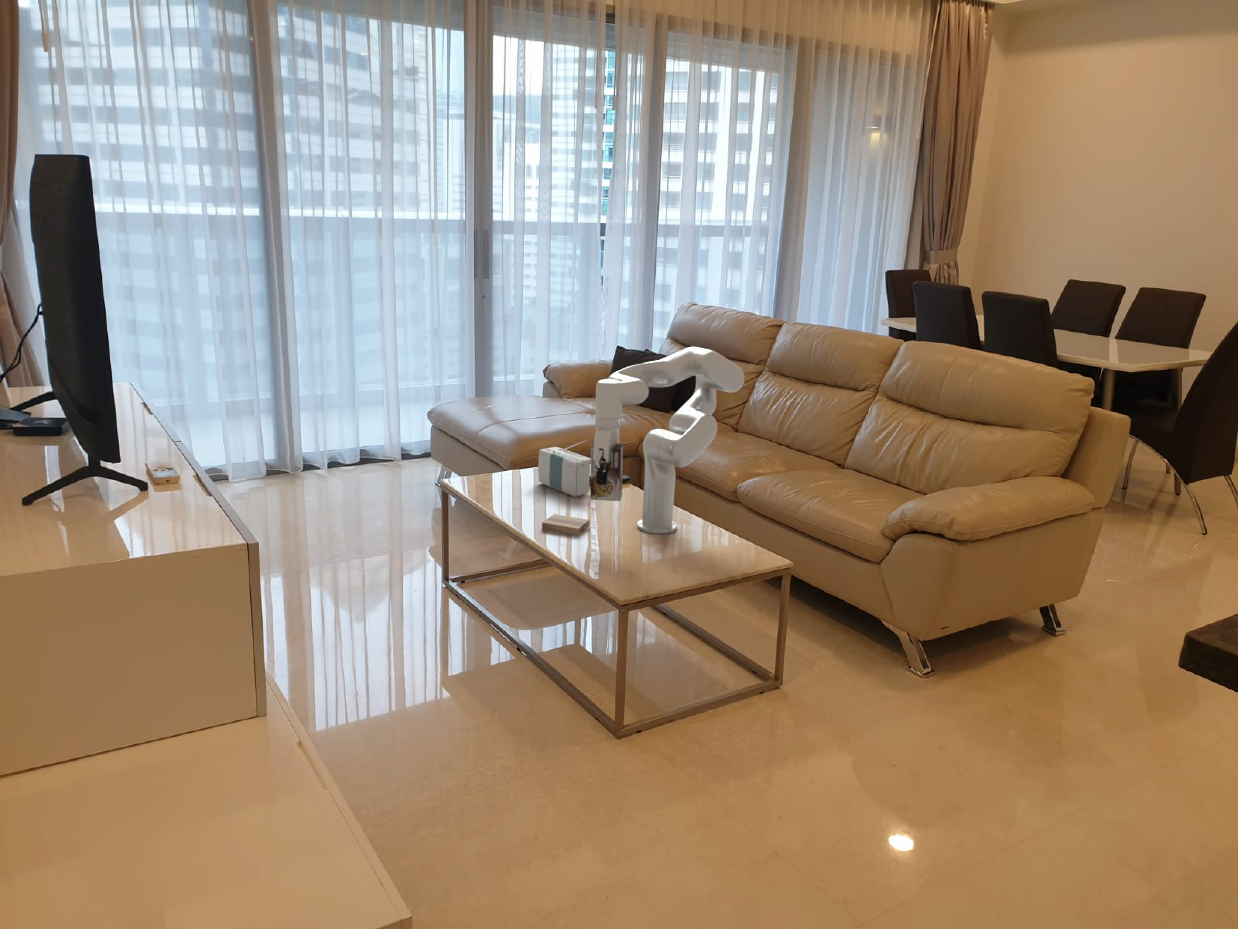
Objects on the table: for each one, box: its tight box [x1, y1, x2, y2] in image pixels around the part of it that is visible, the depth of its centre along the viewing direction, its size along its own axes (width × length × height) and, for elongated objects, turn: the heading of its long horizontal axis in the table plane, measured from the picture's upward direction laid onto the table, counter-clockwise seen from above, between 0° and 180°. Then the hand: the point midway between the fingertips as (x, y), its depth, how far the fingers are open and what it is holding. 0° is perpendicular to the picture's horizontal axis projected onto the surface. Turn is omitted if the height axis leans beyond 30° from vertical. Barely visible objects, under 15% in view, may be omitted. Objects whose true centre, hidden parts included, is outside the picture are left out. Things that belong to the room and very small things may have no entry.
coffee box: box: [589, 442, 624, 502], centre depth 266 cm, size 9×6×16 cm
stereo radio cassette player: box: [537, 438, 591, 498], centre depth 317 cm, size 21×8×20 cm, turn 42°
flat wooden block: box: [541, 513, 590, 537], centre depth 280 cm, size 9×12×2 cm
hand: (606, 480), depth 267 cm, fingers closed on coffee box, 7 cm apart
